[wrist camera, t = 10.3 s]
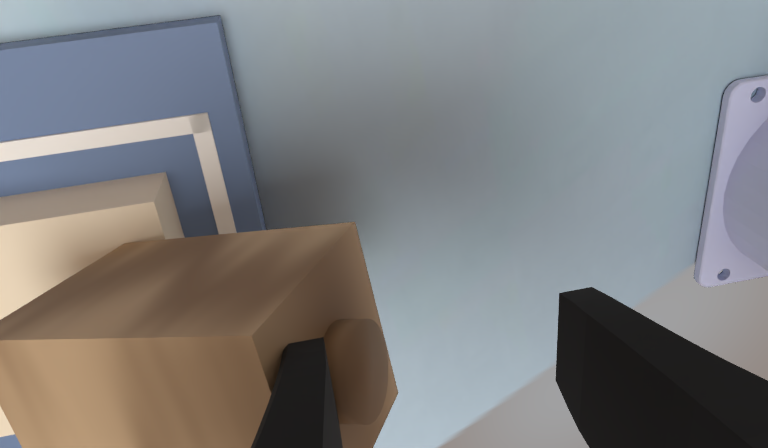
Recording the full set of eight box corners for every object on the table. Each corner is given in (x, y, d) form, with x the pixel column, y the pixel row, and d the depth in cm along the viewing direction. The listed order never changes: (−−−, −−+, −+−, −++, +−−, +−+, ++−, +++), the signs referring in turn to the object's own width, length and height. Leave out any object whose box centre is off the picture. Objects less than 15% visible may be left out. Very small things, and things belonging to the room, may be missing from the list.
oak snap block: (124, 243, 16) (380, 219, 13) (182, 388, 17) (421, 393, 15) (-34, 340, 12) (285, 334, 9) (58, 517, 13) (354, 556, 11)
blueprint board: (220, 15, 17) (210, 36, 14) (302, 400, 23) (307, 467, 20) (-219, 71, 15) (-328, 106, 13) (-3, 459, 22) (-42, 539, 19)
